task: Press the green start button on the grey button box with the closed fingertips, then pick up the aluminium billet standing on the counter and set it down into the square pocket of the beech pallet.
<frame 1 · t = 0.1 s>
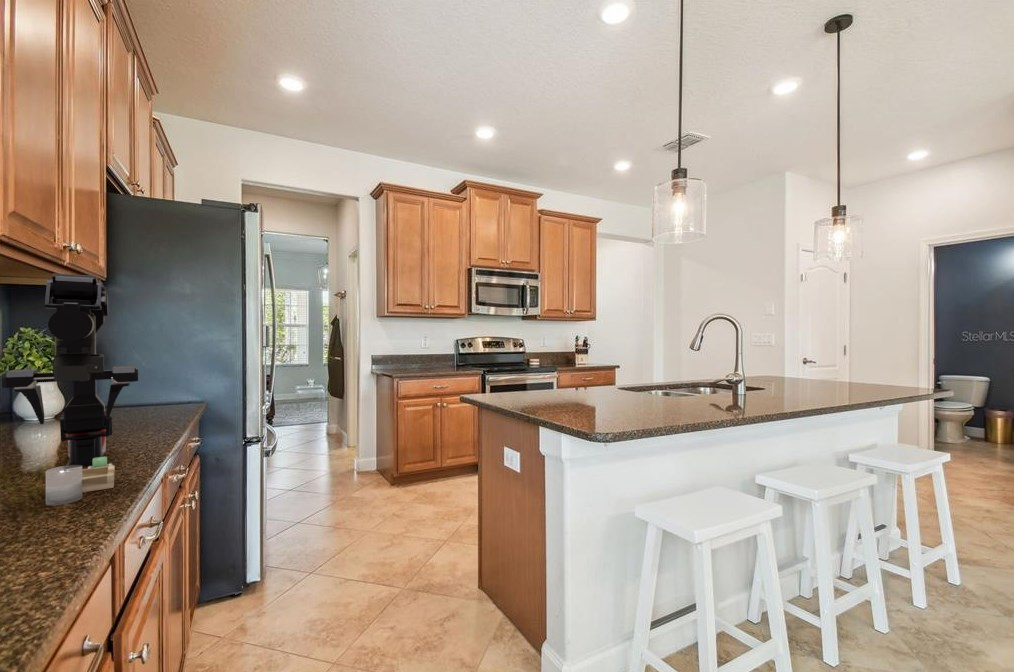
hand: (75, 421, 89), 15 cm above the countertop, tool pointing down, fingers open, 9 cm apart
billet: (64, 500, 87), on the countertop
button housing: (99, 475, 102), on the countertop
button: (99, 464, 102), point 2 cm above the countertop, slide at 0.0 cm
pallet: (85, 486, 95), on the countertop
soda can: (87, 457, 116), on the countertop
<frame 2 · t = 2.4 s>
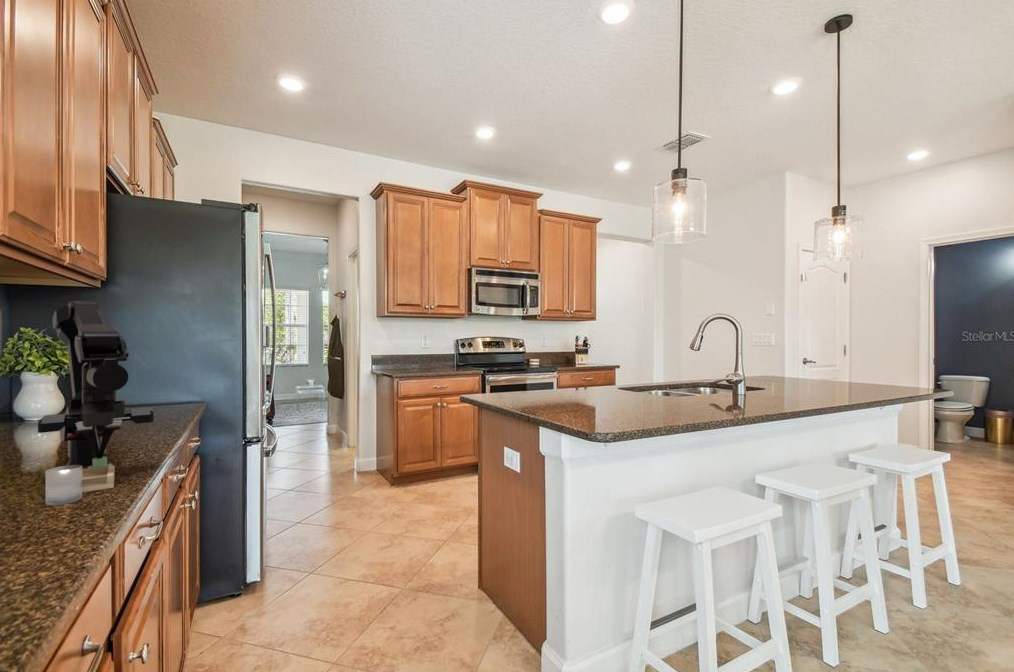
hand: (99, 458, 102), 4 cm above the countertop, tool pointing down, fingers closed, pressing on button
button: (99, 464, 102), point 2 cm above the countertop, slide at 0.0 cm, touching gripper
everything else where it was.
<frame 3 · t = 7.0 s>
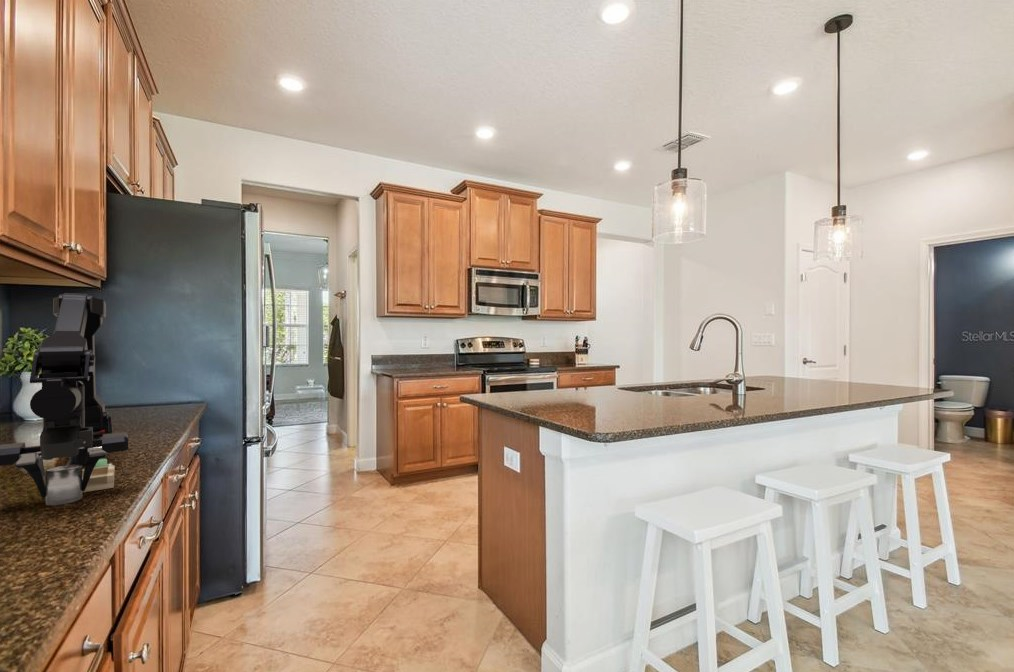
hand: (64, 493, 87), 1 cm above the countertop, tool pointing down, fingers closed on billet, 5 cm apart
billet: (64, 500, 87), on the countertop, touching gripper
button: (99, 466, 102), point 2 cm above the countertop, slide at 0.5 cm
everything else where it was.
when the fingers open (3 cm above the countertop, at t = 10.7 s): billet drops 1 cm, resting on pallet.
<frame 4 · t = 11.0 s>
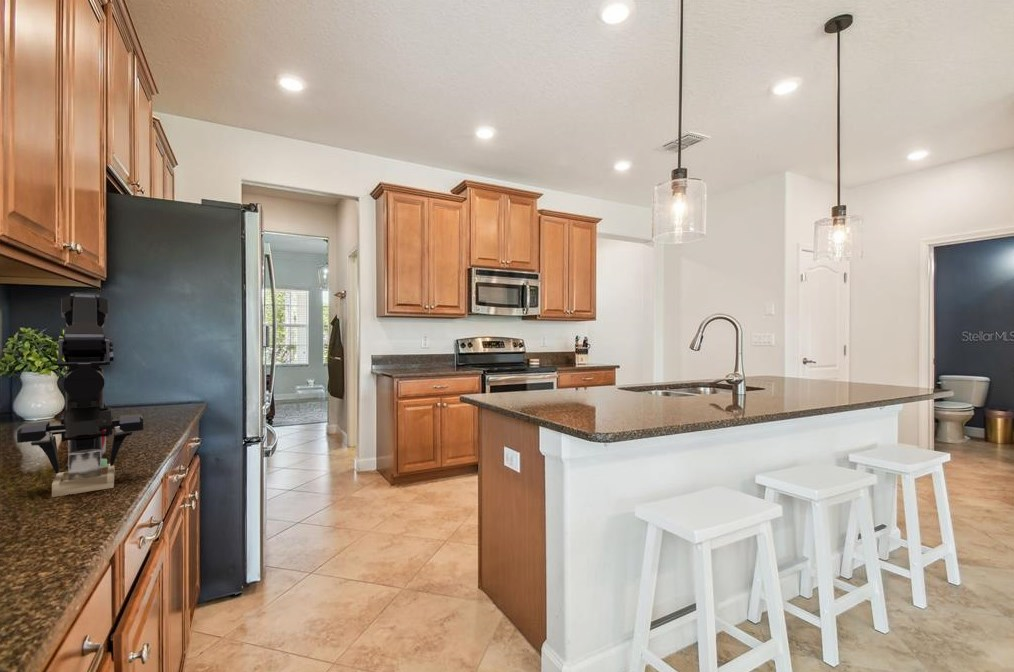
hand: (85, 469, 95), 3 cm above the countertop, tool pointing down, fingers open, 8 cm apart
billet: (85, 481, 95), point 1 cm above the countertop, touching pallet
everything else where it was.
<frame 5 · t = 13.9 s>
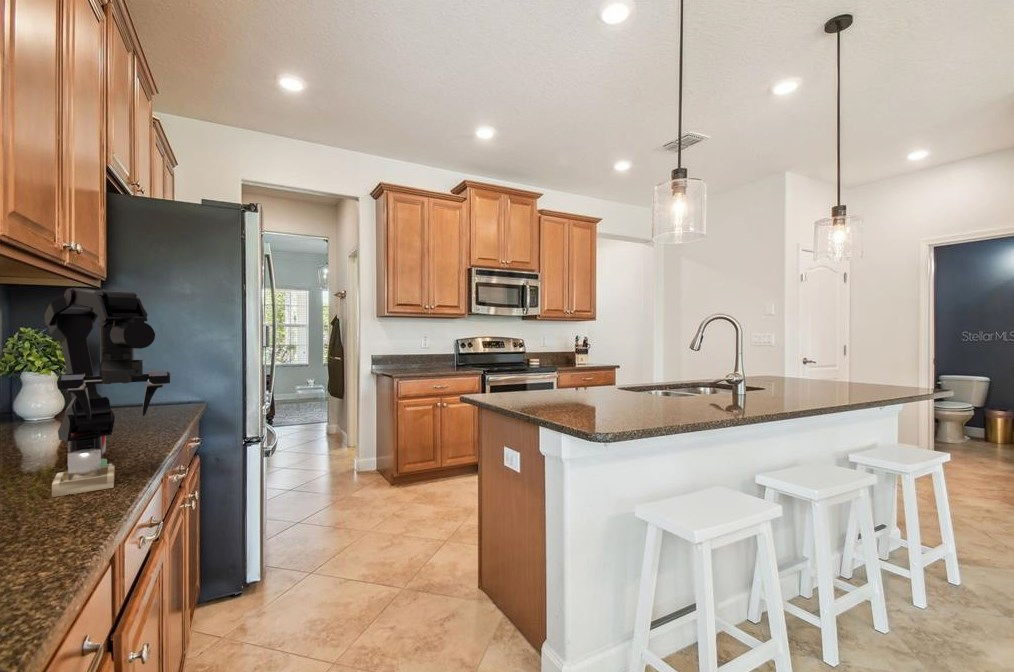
hand: (117, 417, 103), 13 cm above the countertop, tool pointing down, fingers open, 9 cm apart
nothing on the countertop moved.
at the end: billet 0.0 cm off-centre on the pallet, point 1.0 cm above the pallet's base; billet tilted 1°; button slide at 0.5 cm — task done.
